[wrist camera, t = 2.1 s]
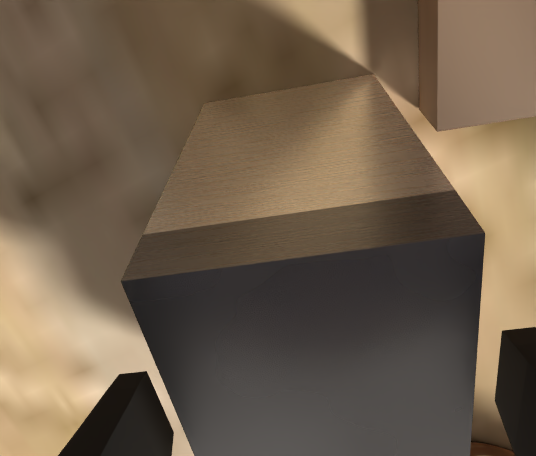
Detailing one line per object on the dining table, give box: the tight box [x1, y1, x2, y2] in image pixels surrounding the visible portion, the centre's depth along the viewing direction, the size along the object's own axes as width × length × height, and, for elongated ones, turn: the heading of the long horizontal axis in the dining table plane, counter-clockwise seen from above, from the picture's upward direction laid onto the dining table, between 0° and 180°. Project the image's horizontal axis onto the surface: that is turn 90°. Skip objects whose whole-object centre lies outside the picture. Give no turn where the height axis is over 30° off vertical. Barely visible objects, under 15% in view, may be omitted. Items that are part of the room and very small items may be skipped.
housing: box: [121, 74, 485, 456], centre depth 11 cm, size 4×10×7 cm, turn 10°
